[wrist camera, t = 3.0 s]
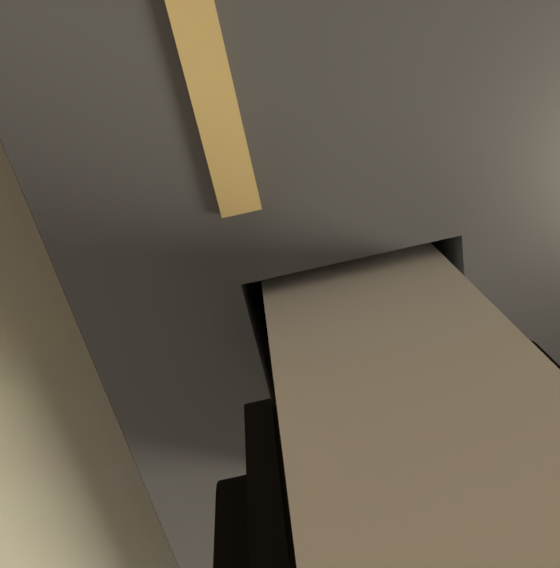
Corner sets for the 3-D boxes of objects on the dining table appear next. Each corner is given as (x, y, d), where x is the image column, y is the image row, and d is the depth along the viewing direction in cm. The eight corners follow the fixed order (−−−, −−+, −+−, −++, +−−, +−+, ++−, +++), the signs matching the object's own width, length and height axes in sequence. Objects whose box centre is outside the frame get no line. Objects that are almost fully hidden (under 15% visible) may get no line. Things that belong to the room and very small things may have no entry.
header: (-8, -81, 12) (-129, -145, 8) (527, -205, 12) (677, -334, 8) (232, 582, 21) (232, 706, 17) (536, 516, 21) (607, 626, 17)
